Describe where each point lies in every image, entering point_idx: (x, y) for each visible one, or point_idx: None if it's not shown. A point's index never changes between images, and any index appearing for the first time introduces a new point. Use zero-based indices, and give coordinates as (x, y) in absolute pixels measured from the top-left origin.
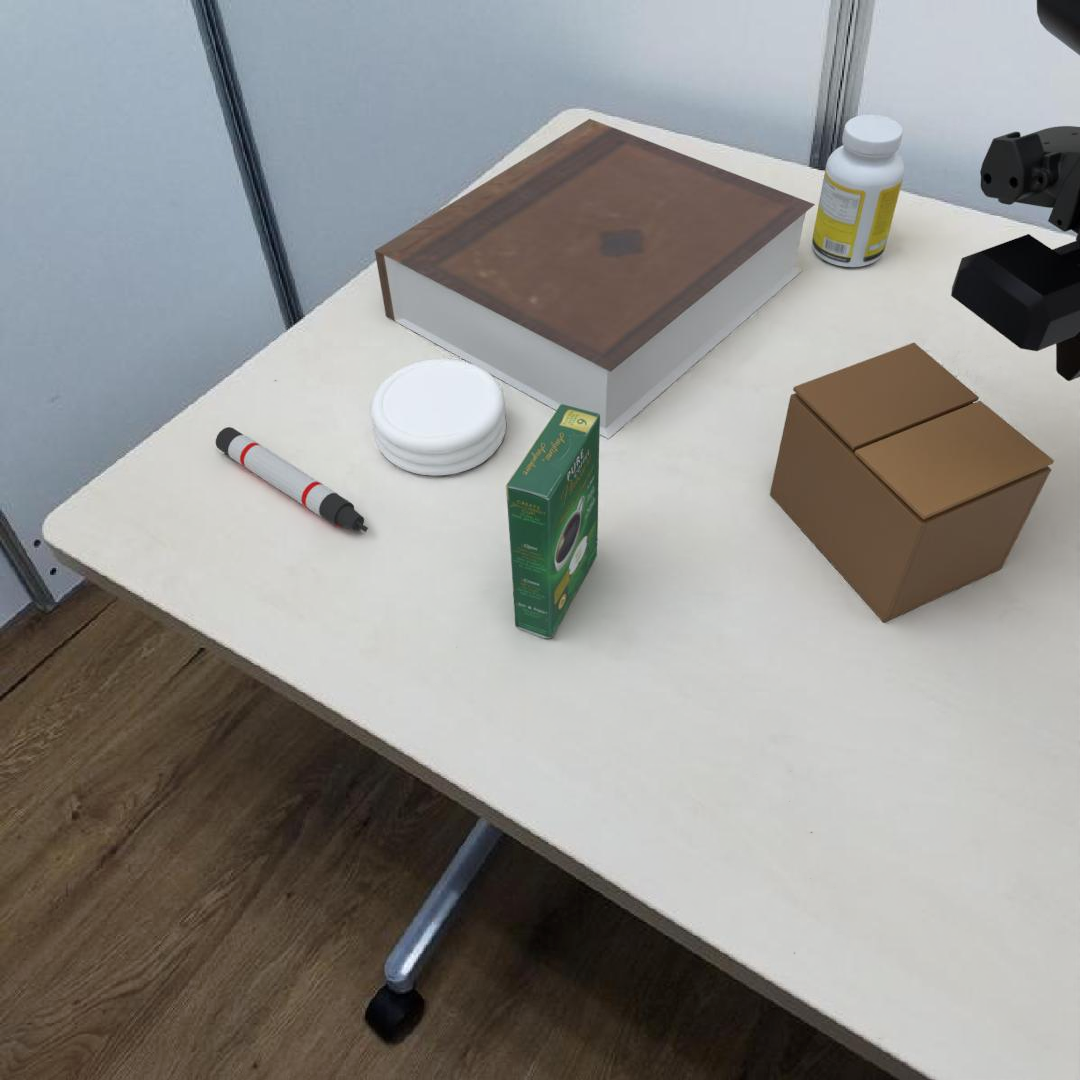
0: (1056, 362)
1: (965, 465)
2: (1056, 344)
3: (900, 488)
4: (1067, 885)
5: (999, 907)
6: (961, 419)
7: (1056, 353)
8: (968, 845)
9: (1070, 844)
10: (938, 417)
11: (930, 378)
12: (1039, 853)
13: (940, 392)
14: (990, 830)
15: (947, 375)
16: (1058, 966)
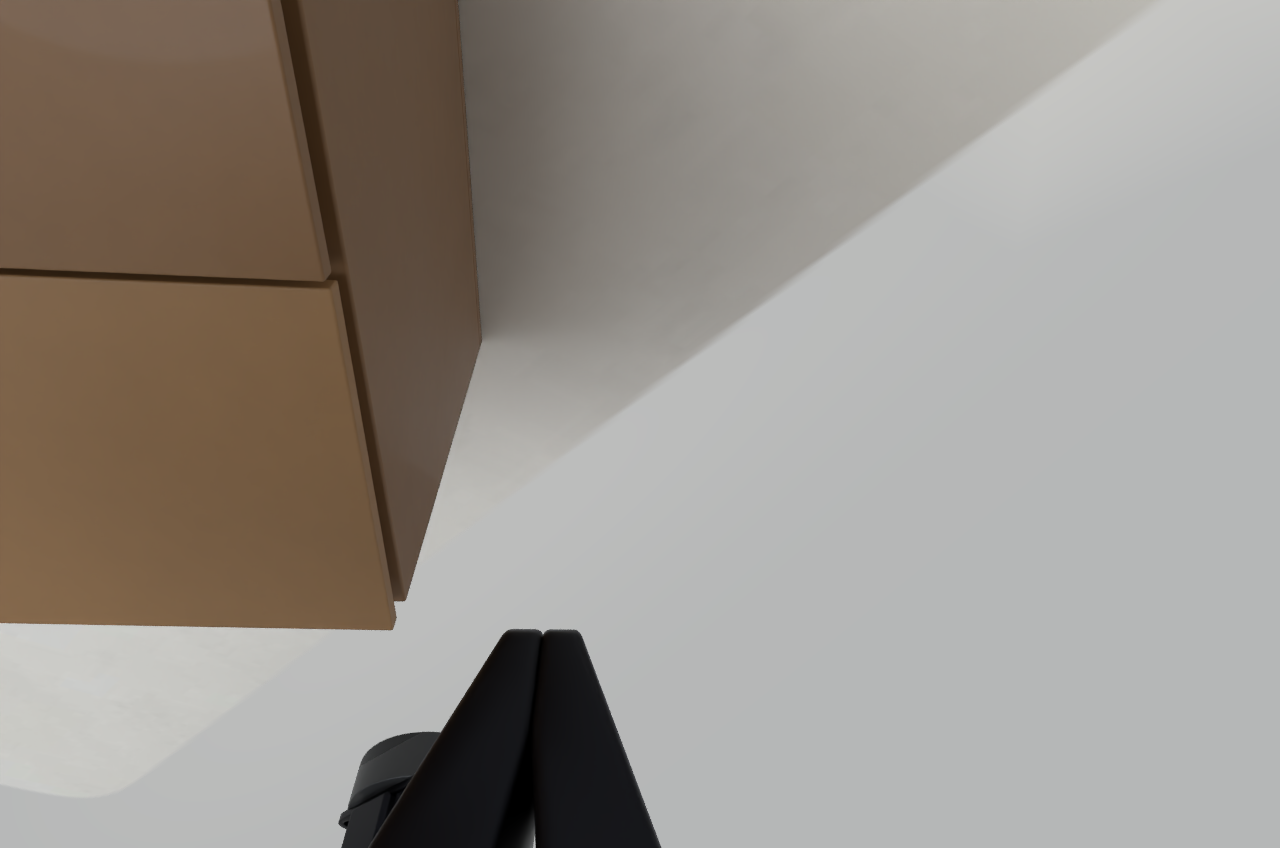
0: (479, 673)
1: (49, 527)
2: (404, 790)
3: None
4: (209, 720)
5: (101, 708)
6: (163, 341)
7: (445, 726)
8: (94, 654)
9: (245, 696)
10: (50, 278)
11: (119, 8)
12: (194, 689)
13: (129, 148)
14: (139, 653)
15: (242, 49)
16: (143, 759)
